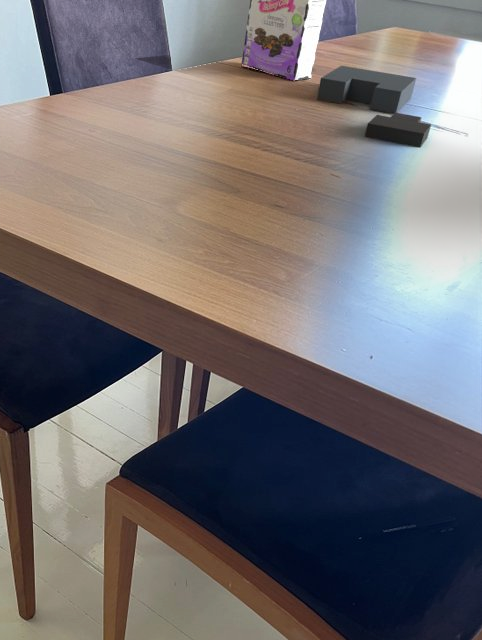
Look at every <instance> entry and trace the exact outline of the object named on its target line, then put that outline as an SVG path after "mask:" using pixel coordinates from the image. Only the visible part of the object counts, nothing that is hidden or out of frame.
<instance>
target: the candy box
mask: <svg viewBox="0 0 482 640" xmlns="http://www.w3.org/2000/svg"><path fill="white" fill-rule="evenodd" d="M326 3H327V0H250V1H249V7H248V14H247V22H246V29H245V38H244V43H243V45H244V46H243V51H242V59H241V65H242V64H243V65H247V66H249V67H253V68H255V69H258V70H262V71H265V72H268V73H272V74H274V75H278V76H281V77H284V78H283V79H285V78H287V79H286V80H288V79H290V80H289V81H292V80H293V81H292V82H296V81H295V80H298V81H303V80H302V79H307V80H309V79H308V78H311V79H312V74H313V69H314V63H315V59H316V53H317V49H318V43H319V40H320V33H321V28H322V24H323V19H324V14H325V10H326ZM274 75H273V76H274ZM281 77H280V78H281Z"/></svg>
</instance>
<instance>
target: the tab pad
mask: <svg viewBox="0 0 482 640" xmlns="http://www.w3.org/2000/svg"><path fill="white" fill-rule="evenodd" d="M431 127H432V124H431V123H424V122H422V117H421V116H416V115H411V114H406V113H400V112H397V113H394V114H393V113H392V115H390V116H386V115H380V114H376V115H375V116H374V117H373V118H372V119H370V120H369V122H367V125H366V128H365V133H364V138H368V139H373V140H379V141H384V142H388V143H394V144H398V145H404V146H409V147H415V148H419V149H421V147H423V145H424V143H425V142H426V141H427V139H428V137H429V133H430V131H431Z"/></svg>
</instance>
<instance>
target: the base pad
mask: <svg viewBox="0 0 482 640" xmlns="http://www.w3.org/2000/svg"><path fill="white" fill-rule="evenodd" d="M416 82H417V77H414V76H406V75H400V74H394V73H390V72H389V73H388V72H383V71H378V70H377V71H376V70H370V69H366V68H365V69H364V68H359V67H353V66H352V67H351V66H347V65H340V66H338V67H337V68H335V69H333V70H332V71H330V72H329V73H327V74H325V75H323V76H322V77H320V81H319V84H318V89H317V90H318V91H317V96H316V100H318V101H323V102H327V103H333V104H339V105H342V104H344V103H345V102H346V101H352V102H357V103H363V104H368V105H370V107H369V110H372V111H378V112H383V113H387V114H392V115H393V114H394V113H399V111H400V110H401V109H402V108H403V107H404V106H405V105H406V104H407V103H408V102H409V101H410V100H411V99H412V96H413V92H414V89H415V84H416Z"/></svg>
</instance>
